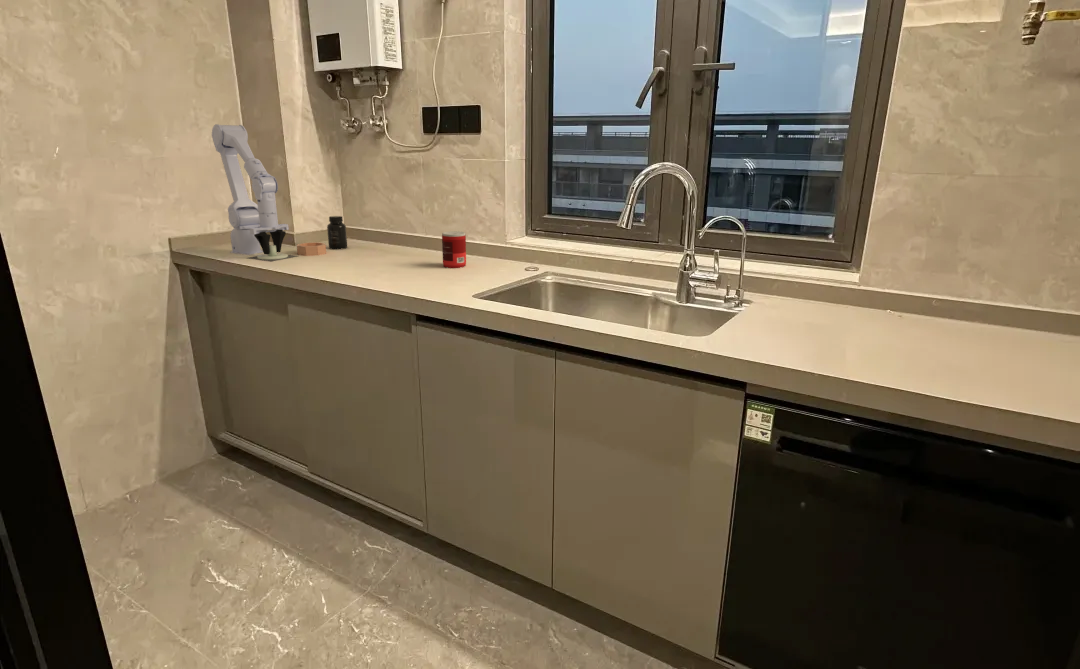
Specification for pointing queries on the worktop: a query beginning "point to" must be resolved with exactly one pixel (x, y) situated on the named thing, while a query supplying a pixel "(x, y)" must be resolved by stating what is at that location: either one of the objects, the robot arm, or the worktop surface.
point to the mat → (272, 260)
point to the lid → (272, 254)
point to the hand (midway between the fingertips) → (272, 253)
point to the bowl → (311, 249)
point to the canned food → (454, 249)
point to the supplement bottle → (336, 233)
